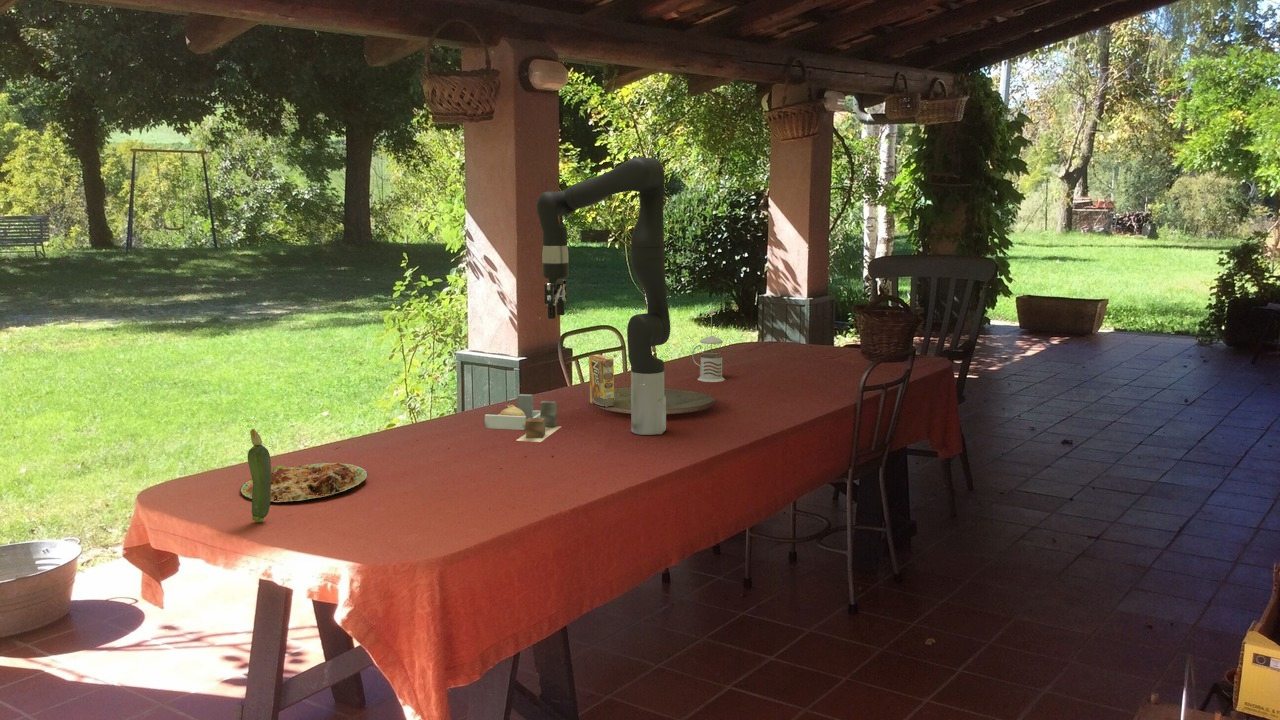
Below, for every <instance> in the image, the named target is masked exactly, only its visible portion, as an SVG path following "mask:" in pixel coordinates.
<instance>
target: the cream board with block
mask: <svg viewBox="0 0 1280 720" xmlns="http://www.w3.org/2000/svg"><path fill="white" fill-rule="evenodd" d="M539 403H540V405H539V407H540V408H539V411H540V417H541V418H545V435H544V437H543V438H526V433H524V434H523V435H521V436H520V437H519V438H517V439H516V440H515V441H518V442H528V443H529V442H531V443H541V442H543V441H544V440H546V439H547V438H548V437H550V436H551V435H552V434H554V433H556V431H558V430H560V429H561V428H562V426H560V425H559V426H558V423H557V422H558V416H557V415H558V413H557V411H558V410H557V408H558V407H557V405H558V404H557V401H556V400H555V401H553V400H542V401H540V402H539Z"/></svg>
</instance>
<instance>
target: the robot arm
mask: <svg viewBox="0 0 1280 720" xmlns="http://www.w3.org/2000/svg"><path fill="white" fill-rule="evenodd" d="M665 186H666V176H665V169H664V166H663V164H662V162H660V160H658V159H657V158H654V157H644V156H643V157H642V156H640V157H639V156H637V157H633V158H631V159H629V160H627V161H625V162H623V163H621V164H619V165H618V166H616V167H615V168H613V169H611V170H608V171H607V172H605V173H603V174H600V175H598V176H597V175H596V176H594V177H591V178H588V179H585V180H582V181H580V182H577V183H574V184H571V185H569V186H568V187H567V188H566V189H565V190H559V191H544V192H542V193H541V194H540V195H539V197H538V199H537V203H536V210H537V215H538V218H539V224H540V227H541V229H542V253H541V255H542V258H541V259H542V277H543V278H544V279H548V282H545V283H544V305H546V306H547V318H548V319H549V320H551V319H552V320H555V319H556V318H557V316H565V312H566V311H565V310H566V309H565V307H566V306H565V304H566V302H567V300H568V281H567V280H568V279H566V278H569V275H570V273H569V269H570V268H569V266H570V265H569V248H568V229H567V227H566V226H565V225H563V224H560V221H559V218H558V217H563V216H567V215H569V214H573V213H574V212H575V211H578V210H579V209H580V210H581V209H582V208H587V207H589V206H592V205H596V204H598V203H599V202H601V201H604V200H605V199H607V198H608V197H611V196H612V195H615V194H619V193H625V192H636V193H638V194H639V213H638V217H637V220H636V223H635V226H634V228H633V231H632V234H631V239H630V261H631V267H632V270H633V273H634V275H635V276H636V278H637V280H638V282H639V283H640V286H641V287H642V288H643V290H644V293H645V297H646V298H645V299H646V304H647V305H646V307H647V313H646V312H644V313H639V314H633V315H632V316H631V317H630V319H629V320H628V324H627V327H626V337H627V338H626V339H627V356H628V361H629V364H630V395H631V396H630V401H631V402H630V416H631V422H630V427H631V433H633V434H635V435H642V436H644V435H646V436H652V435H653V436H655V435H662V434H663V433H664V432H665V431H666V430H667V397H666V396H665V362H664V360H662V359H660V358H657V357H655V356H654V355H653V350H652V348H653V347H657V346H661V345H664V344H666V343H667V342H668V341H669V338H670V335H671V319H670V311H669V304H668V303H669V302H668V295H667V283H666V269H665V268H666V256H665V255H666V254H665V250H666V249H665V237H664V235H665V232H664V198H665Z"/></svg>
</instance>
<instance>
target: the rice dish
mask: <svg viewBox="0 0 1280 720" xmlns="http://www.w3.org/2000/svg"><path fill="white" fill-rule="evenodd" d="M368 476H369V472H368V471H367V470H366V469H365V467H361V466H358V465H356V464H354V463H341V462H339V461H338V462H333V463H332V462H328V463H327V462H319V463H313V464H310V463H309V464H303V465H302V464H301V465H296V466H295V465H294V466H290V467H287V466H286V465H283V464H279V465H276V466H275V467H274V468H273V470H272V471H271V499H275V498H276V499H283V501H277V500H275V501H270V503H271V502H273V503H287V502H294V501H295V502H299V501H300V502H301V501H305V500H306V501H307V500H310V499H311V500H312V499H321V498H322V497H323V498H328V497H331V496H333V495H337V494H339V493H341V492H345V491H348V490H349V489H352V488H355V486H359V484H361V483H362V482H364V481H365V480H366V479H367V478H368ZM251 484H253V481H252V478H250V479H249V480H247V481H246V482H244V483H243V484H242V485H241V487H240V489H239V490H240V491H239V493H240V494H242V496H243V497H245V498H246V499H250V500H252V497H250V495H252V493H253V486H252V487H250V488H249V489H248V486H250V485H251ZM247 489H248V490H247ZM317 493H318V494H328V495H323V496H322V495H319V496H316V495H318V494H317ZM327 496H328V497H327Z"/></svg>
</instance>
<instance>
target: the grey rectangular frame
mask: <svg viewBox="0 0 1280 720" xmlns="http://www.w3.org/2000/svg"><path fill="white" fill-rule="evenodd" d="M517 408H519V409H521V410H522V411H523V412H524V413H525V416H509V415H499V414H500V413H499V414H489V413H488V414H487V413H486V414H484V429H494V430H495V429H496V430H497V429H498V430H514V431H516V430H517V431H526V420H527V419H528V418H541V417H540V410H536V409H535V410H534V394H529V393H528V394H526V393H525V394H524V393H519V394H517Z"/></svg>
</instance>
